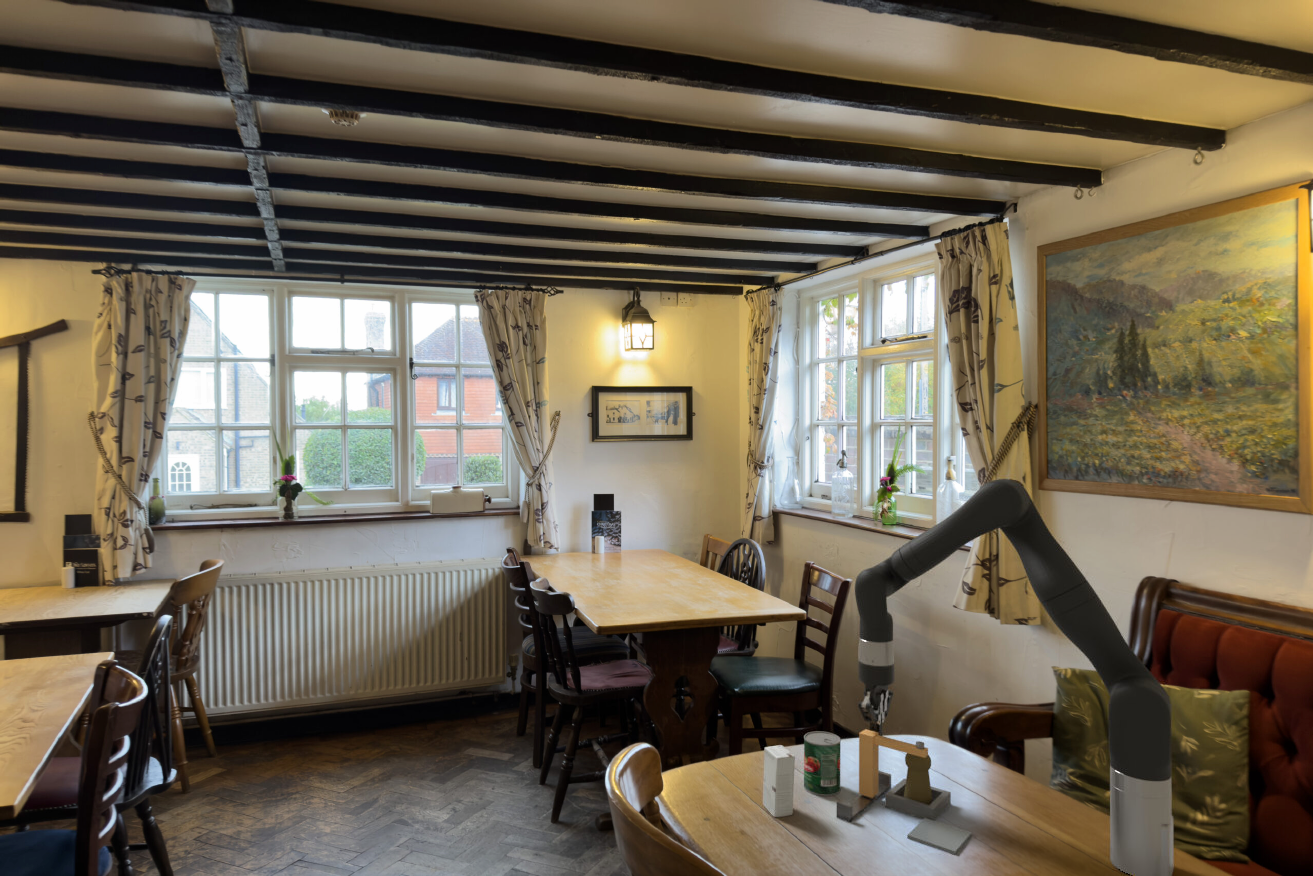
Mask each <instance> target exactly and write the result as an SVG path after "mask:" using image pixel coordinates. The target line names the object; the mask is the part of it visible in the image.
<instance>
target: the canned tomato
mask: <svg viewBox="0 0 1313 876" xmlns="http://www.w3.org/2000/svg"><path fill="white" fill-rule="evenodd" d="M803 739H804V740H803V741H804V742H803V743H804V744H803V747H804V748H803V789H804V790H805V791H806V792H808V793H809V792H810V793H809V794H812V795H814V794H815V796H819V795H820V797H832V796H836V795H838V794H839V793H840V792H841V741H842V740H841V737H840V736H838V735H837V734H835V733H832V732H828V731H820V730H819V731H818V730H816V731H810V732H807V733H805V734H804V735H803Z"/></svg>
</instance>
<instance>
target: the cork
mask: <svg viewBox="0 0 1313 876" xmlns="http://www.w3.org/2000/svg"><path fill="white" fill-rule="evenodd" d="M904 761H905V765H906V767H907V772H906V778H905V779H906V785H905V792H904V798H908V799H911V800H914V801H917V802H920V803H924V804H927V805H930V804H931V803H932V802H933V801H932V793H931V787H932V786H931V780H930V773H929V772H930V769H931V767H932V759H931V756H930V754H928V756H927V757H925V758H923V757H920V756H916V755H912V754H909V753H905V757H904Z"/></svg>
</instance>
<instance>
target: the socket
mask: <svg viewBox="0 0 1313 876" xmlns="http://www.w3.org/2000/svg"><path fill="white" fill-rule="evenodd" d="M905 785H906V778H903V779H902V780H901V781H899V782H898V783H897V784H896V785H894V786H893V787H891V789H890V790H888V791H887V792H886V793H885V794H884V799H885V800H884V804H885V805H884V806H885V807H886V808H889V809H892V810H895V811H898V812H901V813H905V814H908V815H910V816H913V817H917V818H920V819H922V820H923V819H924V818H928V819H931V820H934V821H937V819H938V818H939V817H940V816H941V815H942V814H943V813H944V812H945V811H946V810H947V809H948V808H949V807H950V805H951V804H952V803H951V800H952V799H951V797H952V796H951V795H952V793H951V792H950V791H949V790H948V791H947V790H945V789H941V788H937V787H933V786H931V793H932V801H933V802H932V803H931V804H930V805H927V804H924V803H920V802H917V801H914V800H911V799H908V798H904V792H905Z"/></svg>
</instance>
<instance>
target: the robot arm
mask: <svg viewBox="0 0 1313 876" xmlns="http://www.w3.org/2000/svg"><path fill="white" fill-rule="evenodd" d="M997 529H1000V531H1001V532H1003V534H1004V535H1005V536H1006V538H1007V539H1008V541H1009V542H1010V543H1011V545H1012V546H1013V548H1014V549H1015V551H1016V553H1017V555H1018V557H1019V558H1020V561H1021V564H1022V566H1023V569H1024V571H1025V574H1026V576H1027V579H1028V582H1029V583H1030V586H1031V588H1032V590H1033V592H1034V594H1035V596H1036V597H1037V599H1038V601H1039V602H1040V604H1041V605H1042V607H1043V609H1044V610H1045V611H1046V613H1047V614H1048V616H1049V618H1050V619H1051V621H1052V622H1053V623H1054V625H1055V626H1056V627H1057V628H1058V629H1059V630H1060V631H1061V633H1062V634H1063V635H1064V636H1065V637H1066V638H1067V639H1068V640H1069V641H1070V642H1071V643H1072V644H1073V645H1074V646H1075V647H1076V648H1077V649H1078V650H1079V651H1080V652H1081V653H1082V654H1083V655H1084V656H1085V657H1086V658H1087V660H1089V662H1090V664H1091V665H1092V666H1093V669H1095V671H1096V673H1097V674H1098V676H1099V678H1100V679H1101V681H1102V683H1103V685H1104V687H1105V688H1106V690H1107V693H1108V694H1109V696H1110V697H1109V700H1108V751H1109V760H1110V761H1109V777H1110V778H1109V791H1110V793H1109V795H1110V796H1109V797H1110V798H1109V802H1110V803H1109V807H1110V809H1109V811H1110V813H1109V825H1110V826H1109V827H1110V828H1109V829H1110V830H1109V833H1110V834H1109V835H1110V836H1109V838H1110V839H1109V840H1110V841H1109V843H1110V844H1109V852H1110V853H1109V857H1110V859H1109V860H1110V862H1111V864H1112V865H1113V867H1115V868H1116V869H1118V870H1119V869H1120V870H1119V871H1120V872H1122V871H1123V872H1122V873H1124V872H1125V874H1126V873H1128V874H1132V875H1135V876H1173V873H1174V862H1175V861H1174V816H1173V814H1172V768H1173V767H1172V701H1171V698H1170V696H1169V694H1168V692H1167V691H1166V689H1165V687H1164V686H1163V685H1162V683H1160V682H1159V681H1158V680H1157V678H1156V677H1155V676H1154V675H1153V674H1152V673H1151V672H1150V670H1149V669H1148V668H1147V666H1145V664H1144V663H1143V661H1141V660H1140V658H1139V657H1138V656H1137V655H1136V653H1135V652H1134V651H1133V649H1132V648H1131V647H1130V646H1129V644H1128V643H1127V642H1126V640H1125V639H1124V636H1123V634H1122V633H1121V631H1120V629H1119V628H1118V625H1117V623H1116V622H1115V621H1114V619H1113V617H1112V615H1110V612H1109V611H1108V610H1107V607H1105V605H1104V603H1103V602H1102V600H1101V598H1100V597H1099V595H1098V594H1097V593H1096V591H1095V589H1094V588H1093V586H1092V585H1091V584H1090V582H1089V581H1088V580H1087V578H1086V577H1085V576H1084V574H1083V573H1082V571H1081V570H1080V569H1079V567H1078V566H1077V565H1076V563H1075V562H1074V560H1072V558H1071V557H1070V556H1069V554H1068V553H1067V552H1066V551H1065V549H1064V548H1063V547H1062V545H1060V543H1059V542H1058V541H1057V539H1056V538H1055V537H1054V536H1053V534H1052V533H1051V532H1050V529H1049V528H1048V527H1047V524H1046V522H1045V521H1044V520H1043V518H1042V516H1041V515H1040V512H1039V511H1038V508H1037V507H1036V505H1035V503H1034V501H1033V500H1032V498H1031V496H1030V494H1029V493H1028V491H1027V489H1026V488H1025V487H1024V486H1023V485H1022V484H1020V483H1019V482H1017V481H1015V480H1013V479H1009V478H1000V479H999V478H998V479H994V480H990V481H988V482H985V483H984V484H983V485H981V486H980V487H979V489H978V490H977V491H976V492H975V493H974V494H973V495H972V496H971V497H970V498H969V499H968V500H967V501H965V503H963V504H962V505H961V506H960V507H959V508H958V509H956V510H955V511H954V512H953V513H951V514H950V515H949V516H947V517H946V518H945V519H943V520H942V521H940V522H939V523H937V524H936V525H933V526H932V527H931V528H928V529H927V530H925V531H923V532H922V533H921V534H918V535H917V536H916V537H914V538H912V539H911V540H910V541H908V542H906V543H905V544H903V545H902V546H900V547H899V548H898V549H896V550H895V551H893V553H892V554H891V556H889V557H888V558H886V559H884V560H883V561H881V562H879V563H878V564H876V565H874V566H873V567H869V568H865V569H863V570H862V571H860V572H859V574H857V576H856V579H855V584H854V596H855V602H856V606H857V607H856V608H857V612H858V616H859V641H858V646H857V647H858V649H857V651H858V652H857V655H858V657H857V658H858V659H857V661H858V663H857V670H858V671H857V672H858V674H857V675H858V680H859V681H860V683H863V684H864V689H863V701H858V705H857V708H858V709H859V711H860V713H861V716H862V718H863V720H864V722H867V723H869V730H870V731H874V732H878V733H879V735H880V736H883V723H885V722H884V721H885V718H888V715H889V711H890V708H891V704H892V701H893V700H892V699H893V696H894V692H893V691H892V690H889V686H890V685H891V686H892V685H893V684H894V683H895V647H894V646H895V645H894V620H893V616H892V614H891V613H890V612H889V611H888V603H887V601H888V600H887V598H889V597H890V596H892V595H893V594H895V593H897V592H898V591H899V590H901V589H902V588H903V587H905V586H906V585H907V584H908V583H910V582H911V581H913V580H915V579H918V578H919V577H921V576H922V575H925V574H926V573H927V572H929V571H930V570H932V569H933V568H935V567H936V566H938V565H939V564H941V563H943V562H944V561H946V559H948V558H950V556H951V555H953V554H954V553H955V552H956V551H958V550H959V549H961V548H962V547H964V546H965V545H967V544H969V543H971V541H973V540H975V539H978V538H979V537H981V536H983V535H986V534H988V533H990V532H993V531H995V530H997ZM1128 874H1127V875H1128Z"/></svg>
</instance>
